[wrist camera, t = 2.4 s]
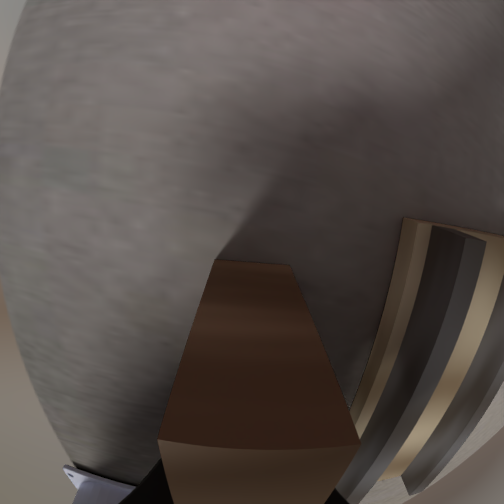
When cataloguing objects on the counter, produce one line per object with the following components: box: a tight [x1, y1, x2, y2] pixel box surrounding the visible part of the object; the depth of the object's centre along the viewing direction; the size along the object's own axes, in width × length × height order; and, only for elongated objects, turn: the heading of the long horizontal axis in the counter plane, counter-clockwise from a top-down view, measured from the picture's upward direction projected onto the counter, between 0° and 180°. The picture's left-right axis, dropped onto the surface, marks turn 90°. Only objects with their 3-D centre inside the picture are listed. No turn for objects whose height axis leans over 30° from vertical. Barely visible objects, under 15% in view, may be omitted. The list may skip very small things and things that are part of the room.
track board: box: [335, 217, 504, 504], centre depth 10 cm, size 15×7×3 cm, turn 175°
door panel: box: [157, 259, 361, 504], centre depth 8 cm, size 12×3×7 cm, turn 175°
